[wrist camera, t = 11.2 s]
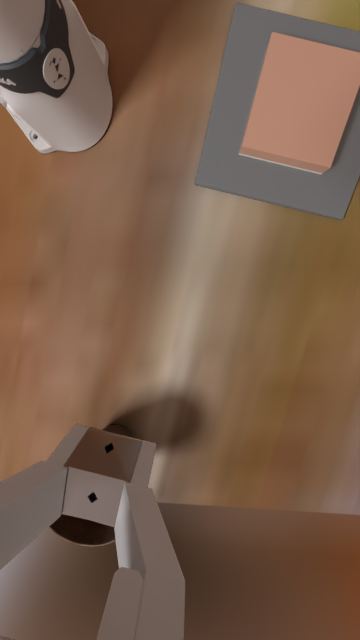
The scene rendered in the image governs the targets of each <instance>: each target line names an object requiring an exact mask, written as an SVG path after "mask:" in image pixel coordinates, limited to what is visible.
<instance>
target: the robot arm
mask: <svg viewBox="0 0 360 640" xmlns="http://www.w3.org/2000/svg"><path fill="white" fill-rule="evenodd" d="M108 63H109V55H108V51H107V49H106V47H105V45H104V43H103V42H102V41H101V40H100V39H98V38H97V37H95V36H94V35H93V34H91V33H90V32H89V31H88V29H87V27H86V25H85V23H84V21H83V19H82V17H81V15H80V13H79V11H78V9H77V7H76V5H75V4H74V2H73V1H72V0H0V103H1V104H2V105H3V106H4V107H5V108H6V109H7V110H8V112H9V113H10V114H11V116H12V117H13V118H14V120H15V121H16V123H17V124H18V125H19V127H20V128H21V129H22V131H23V132H24V133H25V135H26V136H27V137H28V139H29V140H30V142H31V143H32V144H33V146H34V147H35V148H36V149H37V150H38V151H39V152H40V153H50V152H53V151H56V150H62V151H68V152H78V151H82V150H85V149H88V148H90V147H91V146H93V145H94V144H95V143H97V142H98V141H99V140H100V139H101V137H102V136H103V135H104V133H105V131H106V129H107V127H108V125H109V122H110V119H111V114H112V106H113V100H112V91H111V87H110V83H109V78H108ZM37 136H38V138H37V139H36V137H37ZM155 450H156V443H153V442H149V441H144V440H140V439H136V438H131V437H127V436H123V435H119V434H114V433H111V432H107V431H104V430H100V429H97V428H93V427H88V426H85V425H81V424H78V423H77V424H76V425H74V426H73V427H72V429H71V430H70V431H69V433H68V434H67V435H66V436H65V438H64V439H63V440H62V442H61V443H60V444H59V445H58V447H57V448H56V449H55V451H54V452H53V453H52V454H51V456H50V457H49V458H48V460H47V461H46V462H45V461H40V462H38V463H36V464H34V465H32V466H30V467H28V468H26V469H25V470H23V471H21V472H19V473H17V474H15V475H13V476H11V477H9V478H7V479H6V480H4V481H2V482H0V570H1V569H2V568H3V567H4V566H5V565H6V564H7V563H8V562H10V561H11V560H12V559H13V558H14V557H15V556H16V555H17V554H18V553H20V552H21V551H22V550H23V549H24V548H25V547H27V546H28V545H29V544H30V543H31V542H32V541H33V540H34V539H36V538H37V537H38V536H39V535H40V534H41V533H42V532H43V531H44V530H46V529H47V528H48V527H49V526H50V525H51V524H53V523H54V522H55V521H56V520H57V519H58V518H59V517H60V516H61V514H64V515H69V516H73V517H78V518H82V519H87V520H91V521H94V522H98V523H101V524H104V525H108V526H111V527H115V528H114V531H115V539H116V547H117V554H118V563H119V570H118V571H117V572H116V573H115V574H114V577H113V581H112V585H111V589H110V592H109V596H108V600H107V603H106V607H105V611H104V614H103V618H102V621H101V625H100V628H99V632H98V636H97V640H183V638H184V602H185V601H184V600H185V580H184V577H183V574H182V572H181V569H180V566H179V563H178V560H177V557H176V555H175V552H174V549H173V546H172V543H171V541H170V538H169V535H168V532H167V529H166V527H165V524H164V521H163V518H162V516H161V513H160V510H159V507H158V504H157V501H156V499H155V496H154V493H153V490H152V489H151V488H148V483H149V478H150V474H151V469H152V464H153V460H154V455H155ZM0 640H15V639H11V638H7V637H3V636H0Z"/></svg>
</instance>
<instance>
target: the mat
mask: <svg viewBox="0 0 360 640" xmlns="http://www.w3.org/2000/svg"><path fill="white" fill-rule="evenodd" d="M272 32H275V33H280V34H284V35H288V36H292V37H296V38H301V39H305V40H309V41H313V42H317V43H321V44H326V45H330V46H334V47H338V48H342V49H346V50H351V51H355V52H359V53H360V32H358V31H354V30H349V29H345V28H341V27H337V26H333V25H329V24H324V23H320V22H316V21H312V20H308V19H303V18H299V17H295V16H291V15H287V14H282V13H278V12H274V11H270V10H266V9H262V8H257V7H253V6H249V5H245V4H241V3H236V4H235V8H234V13H233V17H232V21H231V26H230V30H229V35H228V39H227V43H226V48H225V52H224V57H223V61H222V66H221V70H220V74H219V79H218V83H217V88H216V92H215V96H214V101H213V105H212V110H211V114H210V118H209V123H208V127H207V132H206V136H205V141H204V145H203V149H202V154H201V158H200V163H199V167H198V171H197V176H196V180H195V185H198V186H202V187H206V188H210V189H214V190H218V191H222V192H226V193H230V194H235V195H239V196H243V197H247V198H251V199H255V200H259V201H263V202H267V203H272V204H276V205H280V206H284V207H288V208H292V209H296V210H300V211H304V212H308V213H313V214H317V215H321V216H325V217H329V218H333V219H337V220H343V217H344V215H345V212H346V210H347V207H348V205H349V202H350V199H351V197H352V194H353V192H354V189H355V187H356V184H357V181H358V179H359V176H360V86H359V89H358V92H357V95H356V97H355V100H354V103H353V106H352V109H351V112H350V114H349V117H348V120H347V123H346V126H345V128H344V131H343V134H342V137H341V140H340V142H339V145H338V148H337V151H336V154H335V156H334V159H333V162H332V165H331V168H329V169H328V170H327V171H325V172H324V173H323V174H317V173H313V172H309V171H304V170H300V169H296V168H292V167H288V166H284V165H280V164H276V163H271V162H267V161H263V160H259V159H255V158H251V157H247V156H243V155H239V151H240V147H241V144H242V140H243V136H244V132H245V128H246V125H247V121H248V117H249V113H250V109H251V106H252V102H253V98H254V94H255V90H256V87H257V83H258V79H259V75H260V71H261V68H262V64H263V60H264V56H265V52H266V49H267V46H268V43H269V40H270V37H271V34H272Z"/></svg>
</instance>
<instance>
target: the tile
mask: <svg viewBox="0 0 360 640" xmlns="http://www.w3.org/2000/svg"><path fill="white" fill-rule="evenodd" d="M359 86H360V53H359V52H355V51H351V50H346V49H342V48H338V47H334V46H330V45H326V44H321V43H317V42H313V41H309V40H305V39H301V38H296V37H292V36H288V35H284V34H280V33H275V32H272V34H271V37H270V40H269V43H268V46H267V49H266V52H265V56H264V60H263V64H262V68H261V71H260V75H259V79H258V83H257V87H256V90H255V94H254V98H253V102H252V106H251V109H250V113H249V117H248V121H247V125H246V128H245V132H244V136H243V140H242V144H241V147H240V151H239V155H243V156H247V157H251V158H255V159H259V160H263V161H267V162H271V163H276V164H280V165H284V166H288V167H292V168H296V169H300V170H304V171H309V172H313V173H317V174H323V173H324V172H325V171H327V170H328V169H329V168H331V165H332V162H333V159H334V156H335V154H336V151H337V148H338V145H339V142H340V140H341V137H342V134H343V131H344V128H345V126H346V123H347V120H348V117H349V114H350V112H351V109H352V106H353V103H354V100H355V97H356V95H357V92H358V89H359Z"/></svg>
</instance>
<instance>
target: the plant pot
mask: <svg viewBox="0 0 360 640" xmlns="http://www.w3.org/2000/svg"><path fill="white" fill-rule="evenodd" d="M103 430H104V431H107V432H111V433H114V434H119V435H123V436H127V437H131V438H132V435H131V433H130V431H129V430H128V429H127V428H125V427H123V426H121V425H110V426H108V427H106V428H105V429H103ZM49 528H50V529H51V530H52V531H53V532H54V533H55V534H57V535H58V536H60V537H61V538H63V539H65V540H67V541H69V542H72V543H75V544H78V545H83V546H102V545H106V544H109V543H112V542H114V541H116V539H115V531H114V528H115V527H111V526H108V525H104V524H101V523H98V522H94V521H91V520H87V519H82V518H78V517H73V516H69V515H64V514H61V516H60V517H59V518H58V519H57V520H56V521H55V522H54V523H53V524H51V525H50V526H49Z"/></svg>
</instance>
